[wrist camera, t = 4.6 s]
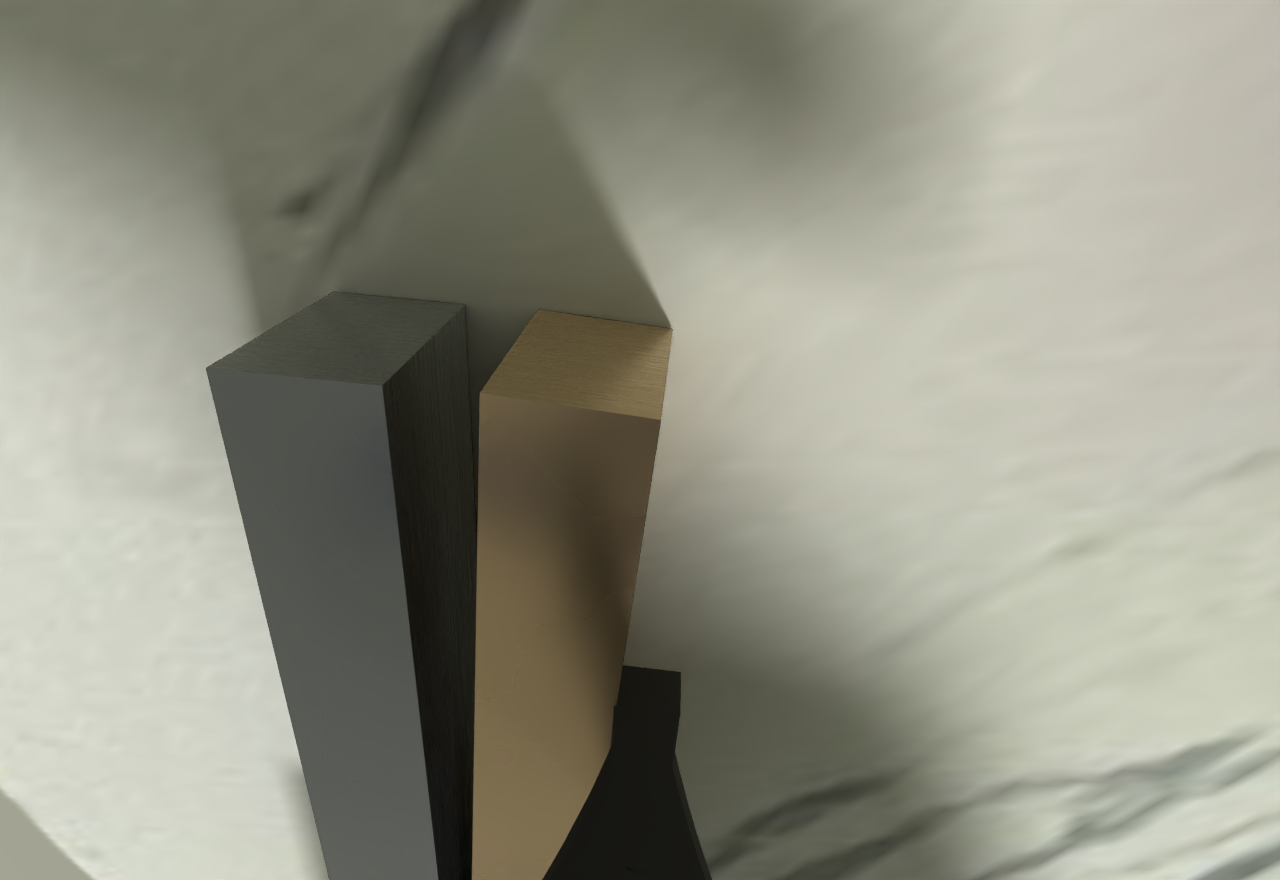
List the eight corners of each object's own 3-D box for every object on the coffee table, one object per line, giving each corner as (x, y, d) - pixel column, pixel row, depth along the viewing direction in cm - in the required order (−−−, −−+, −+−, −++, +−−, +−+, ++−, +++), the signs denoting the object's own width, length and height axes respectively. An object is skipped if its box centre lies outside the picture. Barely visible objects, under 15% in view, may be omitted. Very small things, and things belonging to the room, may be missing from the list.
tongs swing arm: (588, 877, 17) (562, 1051, 14) (506, 864, 17) (463, 1035, 14) (672, 329, 10) (659, 436, 7) (537, 309, 10) (468, 408, 7)
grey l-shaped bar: (619, 986, 19) (603, 1161, 16) (405, 957, 19) (349, 1125, 16) (694, 326, 10) (689, 438, 7) (293, 287, 10) (121, 381, 7)
